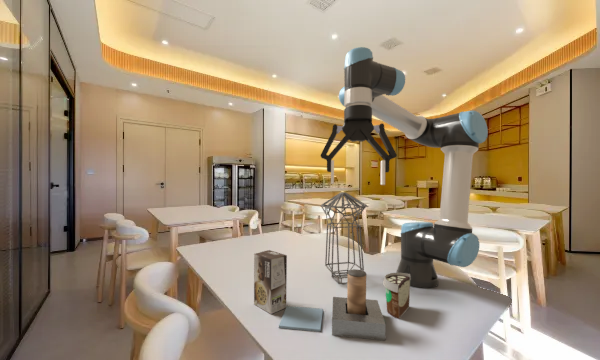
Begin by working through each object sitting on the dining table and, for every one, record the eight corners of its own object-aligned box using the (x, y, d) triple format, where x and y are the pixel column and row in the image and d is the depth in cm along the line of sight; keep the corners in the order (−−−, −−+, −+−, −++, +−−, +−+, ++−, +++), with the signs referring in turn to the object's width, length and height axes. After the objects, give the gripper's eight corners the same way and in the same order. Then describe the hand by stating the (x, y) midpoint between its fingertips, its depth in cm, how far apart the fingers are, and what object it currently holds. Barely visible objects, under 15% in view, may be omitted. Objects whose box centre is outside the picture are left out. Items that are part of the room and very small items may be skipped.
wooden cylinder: (364, 319, 72) (365, 270, 73) (366, 329, 68) (367, 276, 68) (346, 318, 73) (347, 268, 73) (347, 327, 68) (347, 275, 68)
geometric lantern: (331, 288, 94) (330, 192, 95) (320, 274, 109) (319, 192, 110) (371, 285, 97) (370, 192, 98) (355, 271, 112) (353, 191, 113)
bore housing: (377, 313, 76) (377, 300, 76) (385, 340, 63) (385, 324, 63) (332, 310, 78) (333, 296, 78) (331, 335, 65) (332, 319, 65)
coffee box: (287, 307, 79) (287, 255, 79) (270, 314, 75) (271, 259, 75) (269, 297, 86) (269, 249, 86) (252, 304, 81) (253, 252, 81)
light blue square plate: (322, 310, 77) (322, 308, 77) (320, 331, 66) (320, 329, 66) (286, 307, 79) (286, 305, 79) (278, 327, 68) (278, 325, 68)
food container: (391, 299, 85) (391, 269, 85) (410, 305, 81) (410, 273, 81) (376, 314, 76) (376, 280, 76) (397, 321, 72) (397, 285, 72)
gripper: (401, 110, 73) (401, 184, 73) (314, 112, 76) (313, 183, 76) (409, 101, 65) (408, 185, 65) (311, 104, 69) (310, 183, 69)
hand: (357, 184), depth 71 cm, fingers open, 13 cm apart
